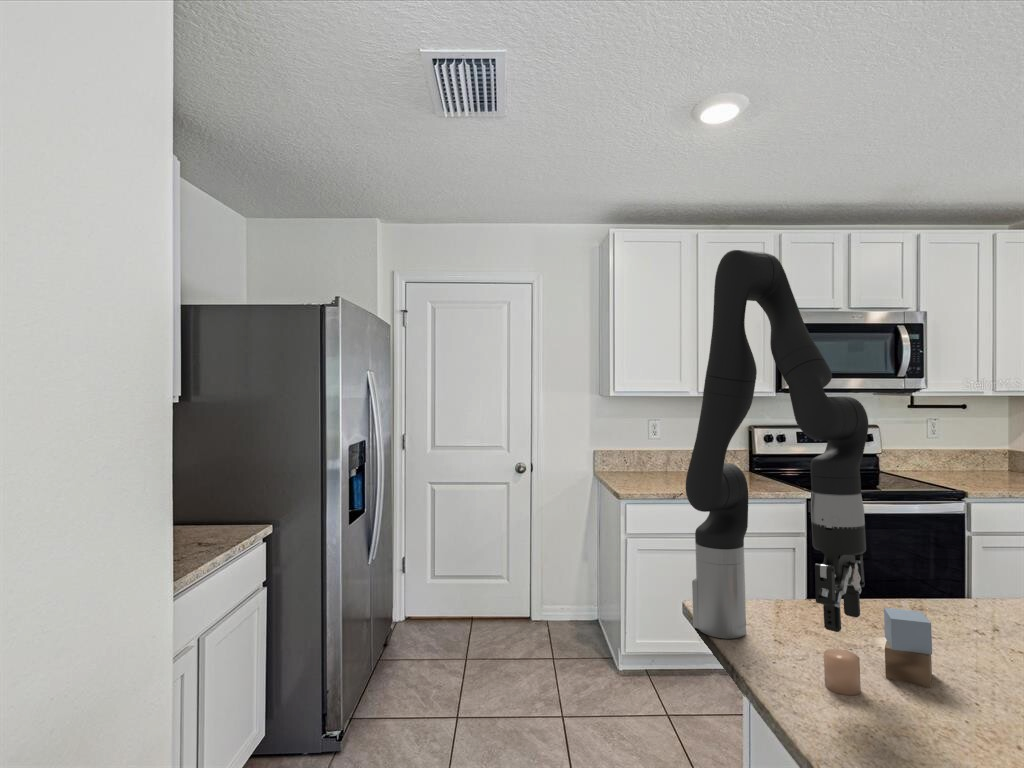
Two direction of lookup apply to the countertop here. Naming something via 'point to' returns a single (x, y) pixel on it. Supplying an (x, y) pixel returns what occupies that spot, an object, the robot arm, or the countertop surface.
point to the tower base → (908, 667)
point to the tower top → (908, 630)
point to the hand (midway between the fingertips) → (842, 623)
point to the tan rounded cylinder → (842, 671)
